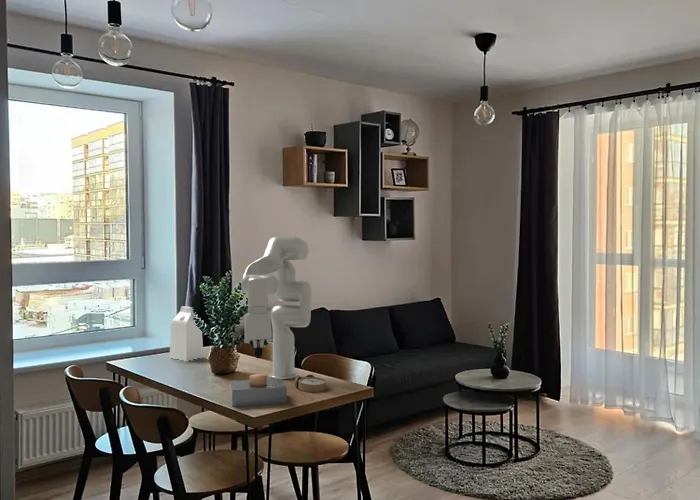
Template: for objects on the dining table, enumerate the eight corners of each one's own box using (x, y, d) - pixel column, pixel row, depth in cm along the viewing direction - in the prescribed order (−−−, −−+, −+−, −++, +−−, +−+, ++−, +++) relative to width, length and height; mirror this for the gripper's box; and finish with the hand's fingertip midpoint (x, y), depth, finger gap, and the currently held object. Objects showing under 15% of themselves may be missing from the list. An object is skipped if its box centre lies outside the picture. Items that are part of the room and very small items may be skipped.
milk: (203, 357, 327) (203, 306, 326) (186, 361, 317) (186, 308, 316) (186, 355, 333) (186, 305, 332) (169, 358, 323) (169, 307, 323)
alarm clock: (310, 386, 256) (288, 373, 267) (309, 398, 257) (287, 385, 268) (332, 382, 263) (309, 370, 274) (330, 393, 264) (308, 381, 275)
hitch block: (229, 396, 251) (229, 380, 251) (281, 393, 256) (281, 378, 256) (232, 406, 236) (232, 390, 236) (286, 403, 241) (286, 387, 241)
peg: (248, 396, 249) (248, 374, 248) (265, 395, 250) (265, 374, 250) (250, 401, 242) (250, 378, 242) (267, 400, 244) (267, 377, 243)
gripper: (276, 307, 251) (276, 354, 252) (237, 309, 247) (237, 356, 248) (278, 310, 243) (279, 358, 245) (238, 312, 240) (239, 360, 241)
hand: (258, 357), depth 246 cm, fingers closed
